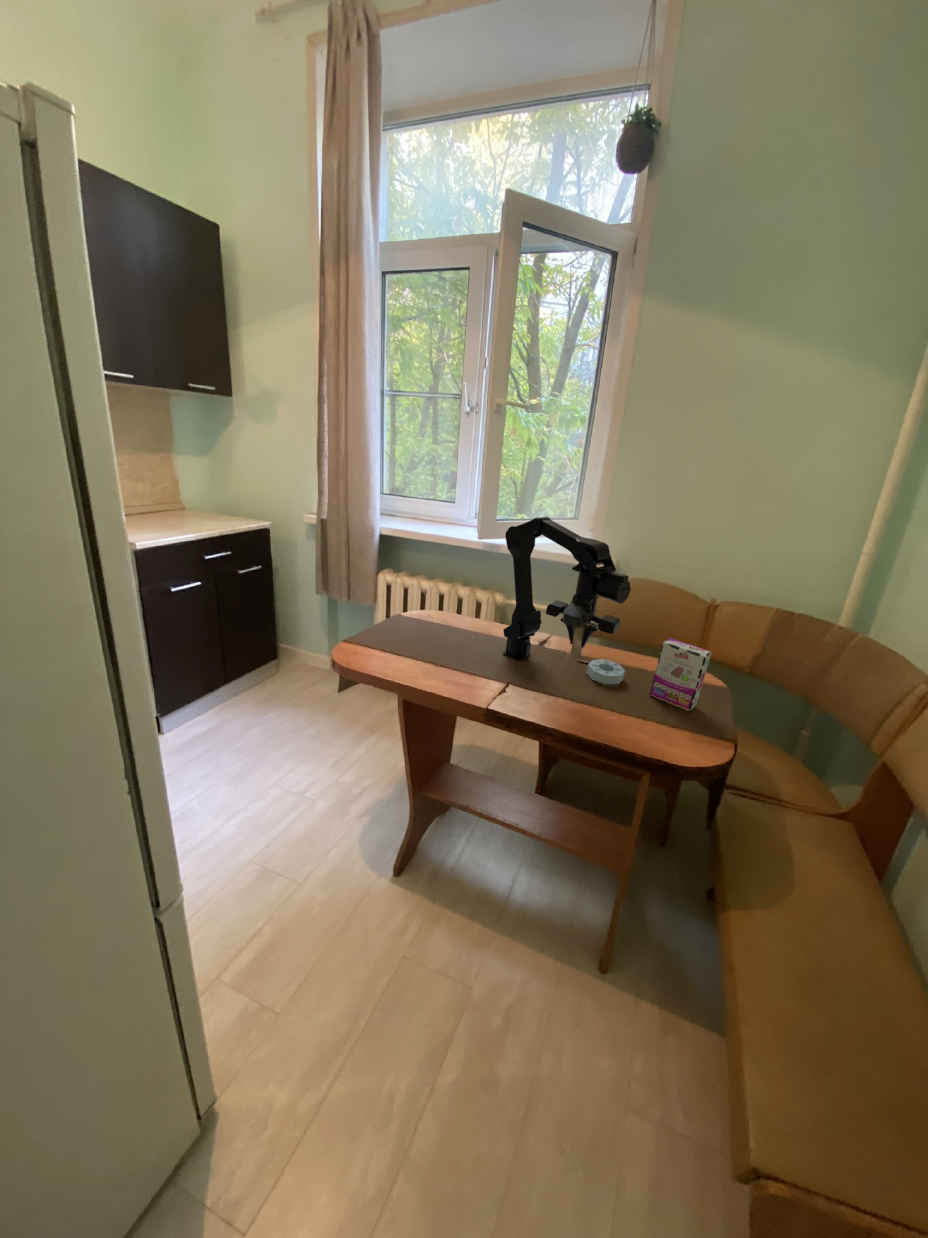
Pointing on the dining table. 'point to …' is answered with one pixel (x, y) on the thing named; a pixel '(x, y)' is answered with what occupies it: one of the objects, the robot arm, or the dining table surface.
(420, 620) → the dining table surface
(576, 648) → the beige wooden cylinder
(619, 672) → the bead
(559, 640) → the dining table surface
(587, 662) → the brown wooden stick
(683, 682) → the candy bar box
